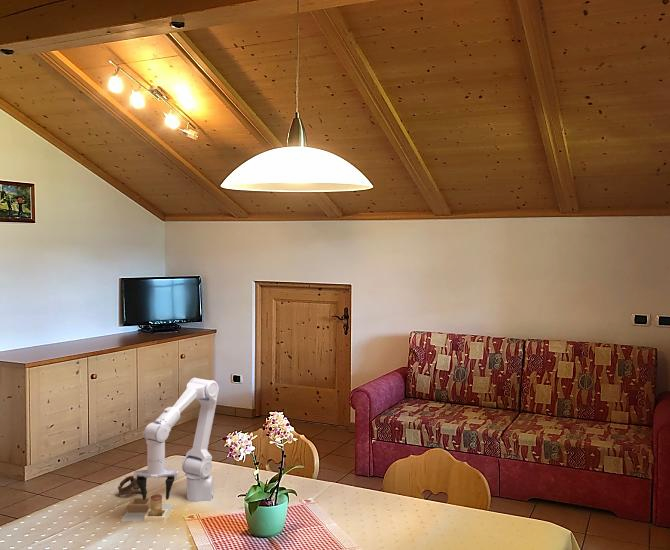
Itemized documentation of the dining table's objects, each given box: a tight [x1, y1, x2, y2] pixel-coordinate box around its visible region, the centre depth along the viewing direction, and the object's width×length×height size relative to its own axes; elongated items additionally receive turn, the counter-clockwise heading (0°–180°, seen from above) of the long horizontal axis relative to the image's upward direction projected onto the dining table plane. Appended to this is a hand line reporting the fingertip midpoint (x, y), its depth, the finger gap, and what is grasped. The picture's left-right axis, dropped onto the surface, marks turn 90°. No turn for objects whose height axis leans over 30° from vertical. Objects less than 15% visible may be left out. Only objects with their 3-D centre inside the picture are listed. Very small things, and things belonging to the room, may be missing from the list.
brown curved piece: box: [117, 474, 148, 496], centre depth 248 cm, size 12×10×8 cm
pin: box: [150, 493, 163, 516], centre depth 226 cm, size 4×4×7 cm
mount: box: [120, 496, 175, 522], centre depth 230 cm, size 15×14×4 cm
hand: (156, 498), depth 226 cm, fingers open, 7 cm apart
